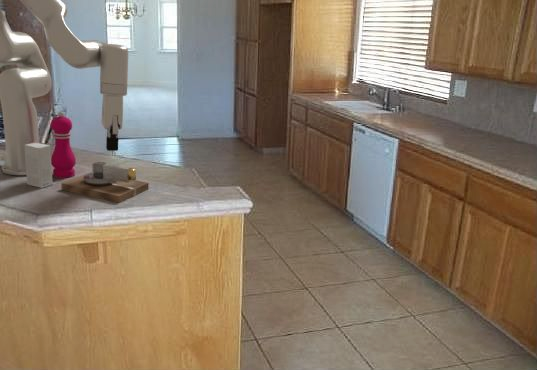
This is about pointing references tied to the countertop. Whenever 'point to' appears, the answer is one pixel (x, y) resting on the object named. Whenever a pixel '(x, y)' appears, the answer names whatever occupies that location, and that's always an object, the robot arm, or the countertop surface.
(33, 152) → the skincare box
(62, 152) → the pepper mill
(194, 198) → the countertop surface
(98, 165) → the dial
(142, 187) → the walnut board
